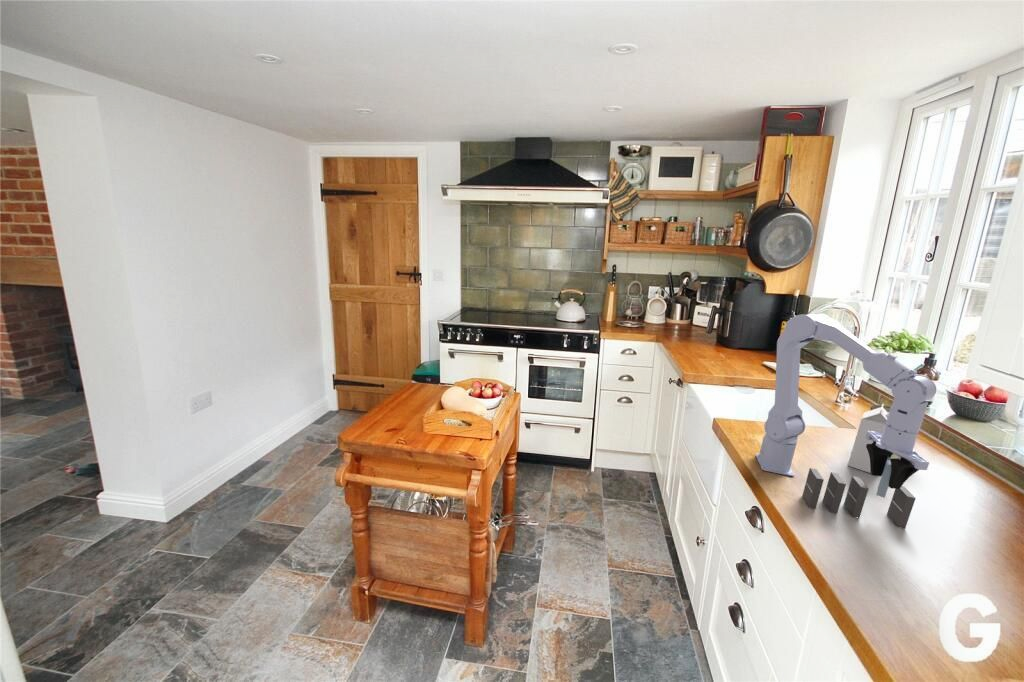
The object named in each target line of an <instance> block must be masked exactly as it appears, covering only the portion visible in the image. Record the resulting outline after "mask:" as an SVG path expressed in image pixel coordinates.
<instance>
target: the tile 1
mask: <svg viewBox="0 0 1024 682" xmlns="http://www.w3.org/2000/svg"><path fill="white" fill-rule="evenodd" d="M824 480H825V479H824V478H823V476H822V475H821V473H820V472H819V470H818V469H817V468H812V467H809V470H808V474H807V476H806V480H805V485H804V488H803V492H802V495H801V496H802V499H803V501H804V502H805V504H806V505H807V507H808V508H810V509H813V510H816V509H817V507H818V506H817V505H818V503H819V499H820V495H821V492H822V491H821V490H822V488H823V484H824Z"/></svg>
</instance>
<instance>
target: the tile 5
mask: <svg viewBox="0 0 1024 682" xmlns="http://www.w3.org/2000/svg"><path fill="white" fill-rule="evenodd" d="M915 502H916V497H915V496H914V495H913V494H912V493H911V492H910V490H908V489H907V488H906V487H905V486H904V485H902V486H901V488H900V489H894V491H893V494H892V498H891V500H890V504H889V507H888V509H887V513H886V515H887V514H888V515H889V516H890V517H889V516H888V515H887V516H888V517H889V518H891V519H892V520H893V521H892V520H891V519H890V520H891V521H892V522H893V523H894V524H896V525H897V526H896V525H895V526H896V527H897V528H900V527H901V529H906V527H907V525H908V521H909V518H910V517H911V513H912V509H913V507H914V505H915Z"/></svg>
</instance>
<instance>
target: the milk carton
mask: <svg viewBox="0 0 1024 682" xmlns="http://www.w3.org/2000/svg"><path fill="white" fill-rule="evenodd" d="M883 406H885V405H884V403H882V407H880V408H877V409H874V410H871V409H870V410H867V411H865V412H863V414H862V416H861V419H860V421H859V427H858V429H857V432H856V436H855V439H854V443H853V446H852V450H851V453H850V456H849V460H848V463H847V466H848V467H851V468H853V469H855V470H859V471H863V472H866V473H869V474H871V469H870V457H869V453H868V450H867V448H866V445H867V444H872V443H873V441H872V440H868V439H866V438H865V437H866V434H867V431H875V432H877V433H879V434H883V431H884V427H885V424H886V421H887V418H888V415H889V412H887V411H886V410H885V409H884V408H883Z"/></svg>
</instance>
